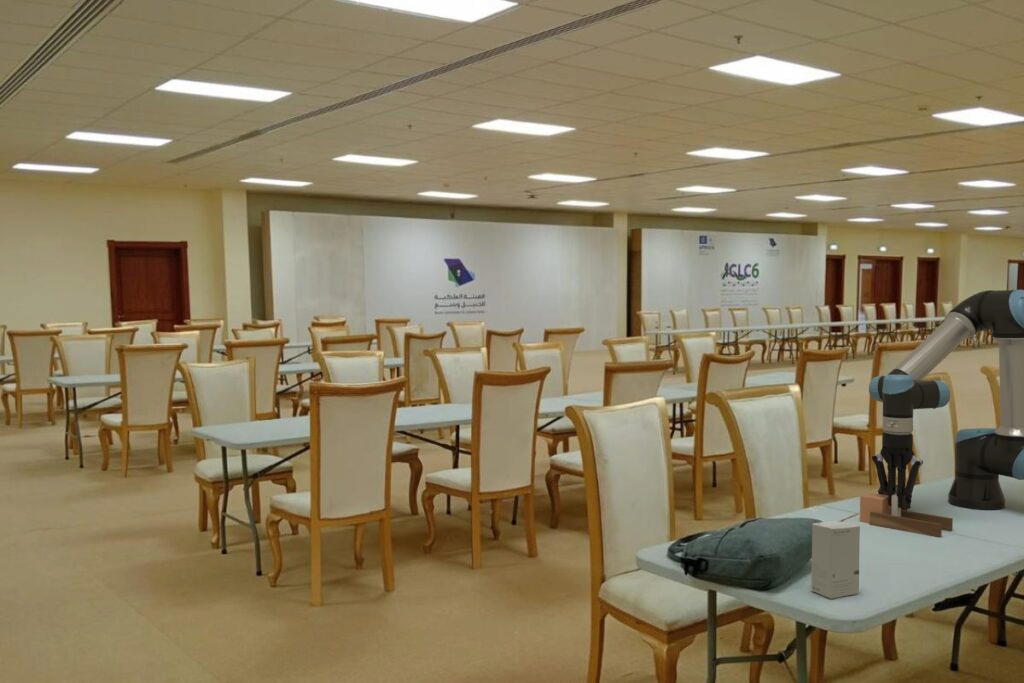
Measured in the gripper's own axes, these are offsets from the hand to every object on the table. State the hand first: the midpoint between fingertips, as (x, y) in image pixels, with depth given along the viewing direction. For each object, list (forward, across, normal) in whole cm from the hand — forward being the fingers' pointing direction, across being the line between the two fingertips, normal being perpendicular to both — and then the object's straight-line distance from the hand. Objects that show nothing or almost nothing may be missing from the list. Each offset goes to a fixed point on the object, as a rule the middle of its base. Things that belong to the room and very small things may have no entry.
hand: (896, 518), depth 233 cm
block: (+2, -6, 0) cm, 6 cm away
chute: (+3, 0, 0) cm, 3 cm away
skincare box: (+3, +10, -60) cm, 61 cm away
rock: (+3, -8, +19) cm, 21 cm away
